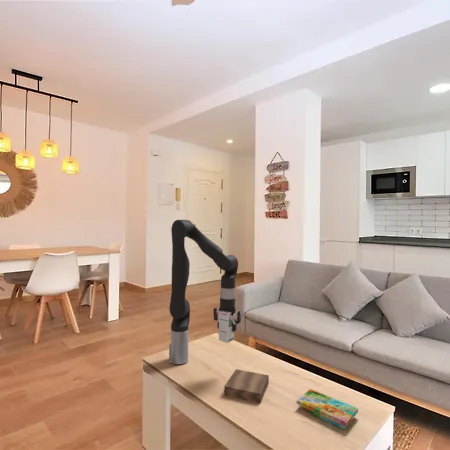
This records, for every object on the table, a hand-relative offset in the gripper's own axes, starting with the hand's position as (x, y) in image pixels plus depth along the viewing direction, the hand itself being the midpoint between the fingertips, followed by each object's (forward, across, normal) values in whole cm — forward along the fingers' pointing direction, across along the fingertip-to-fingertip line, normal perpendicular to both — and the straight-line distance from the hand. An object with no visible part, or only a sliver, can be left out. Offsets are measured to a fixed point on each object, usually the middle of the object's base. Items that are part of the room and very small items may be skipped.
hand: (226, 330), depth 150 cm
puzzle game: (+22, +47, -14) cm, 54 cm away
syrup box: (+5, 0, 0) cm, 5 cm away
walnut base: (+22, +13, -9) cm, 27 cm away
